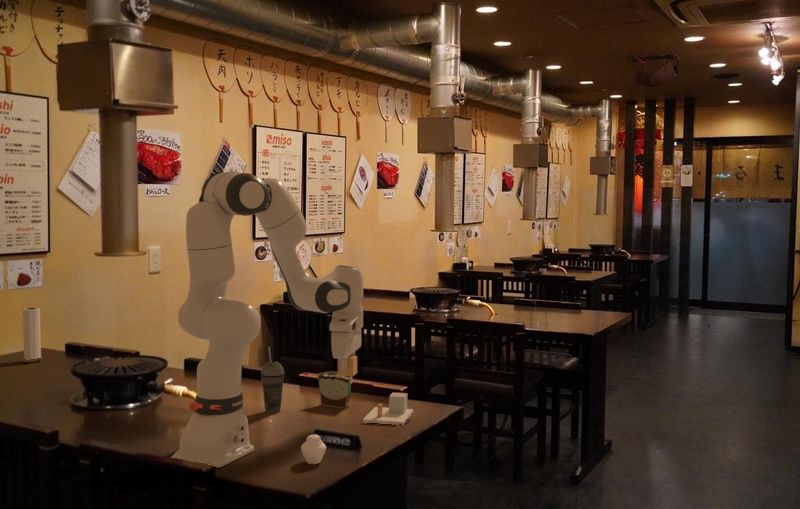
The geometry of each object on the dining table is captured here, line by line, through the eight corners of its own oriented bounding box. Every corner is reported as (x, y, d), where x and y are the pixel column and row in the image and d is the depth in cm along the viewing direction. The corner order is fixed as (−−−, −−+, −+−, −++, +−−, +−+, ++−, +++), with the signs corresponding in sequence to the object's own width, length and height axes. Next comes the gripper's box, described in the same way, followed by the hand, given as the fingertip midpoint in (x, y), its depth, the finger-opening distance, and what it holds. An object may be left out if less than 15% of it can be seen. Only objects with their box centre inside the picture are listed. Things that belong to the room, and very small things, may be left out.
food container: (360, 404, 240) (360, 373, 239) (350, 409, 234) (350, 377, 234) (327, 400, 245) (327, 369, 245) (317, 404, 240) (317, 373, 239)
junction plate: (403, 426, 217) (403, 404, 217) (363, 423, 220) (363, 402, 219) (413, 413, 231) (413, 393, 230) (375, 410, 233) (375, 390, 233)
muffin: (327, 458, 189) (327, 430, 189) (324, 466, 183) (324, 438, 182) (303, 457, 189) (303, 430, 189) (298, 466, 183) (298, 437, 183)
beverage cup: (279, 415, 227) (279, 349, 225) (256, 414, 228) (256, 348, 227) (288, 409, 234) (288, 345, 232) (266, 407, 235) (265, 344, 234)
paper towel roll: (32, 359, 304) (31, 307, 303) (44, 360, 302) (43, 307, 301) (18, 363, 297) (16, 309, 296) (30, 364, 296) (29, 310, 294)
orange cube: (353, 376, 217) (353, 358, 217) (337, 375, 218) (337, 358, 218) (357, 372, 222) (357, 355, 221) (341, 371, 222) (342, 355, 222)
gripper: (346, 315, 230) (346, 360, 230) (327, 326, 209) (327, 375, 210) (366, 316, 228) (366, 362, 229) (349, 326, 208) (349, 376, 209)
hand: (347, 368), depth 220 cm, fingers closed on orange cube, 5 cm apart
